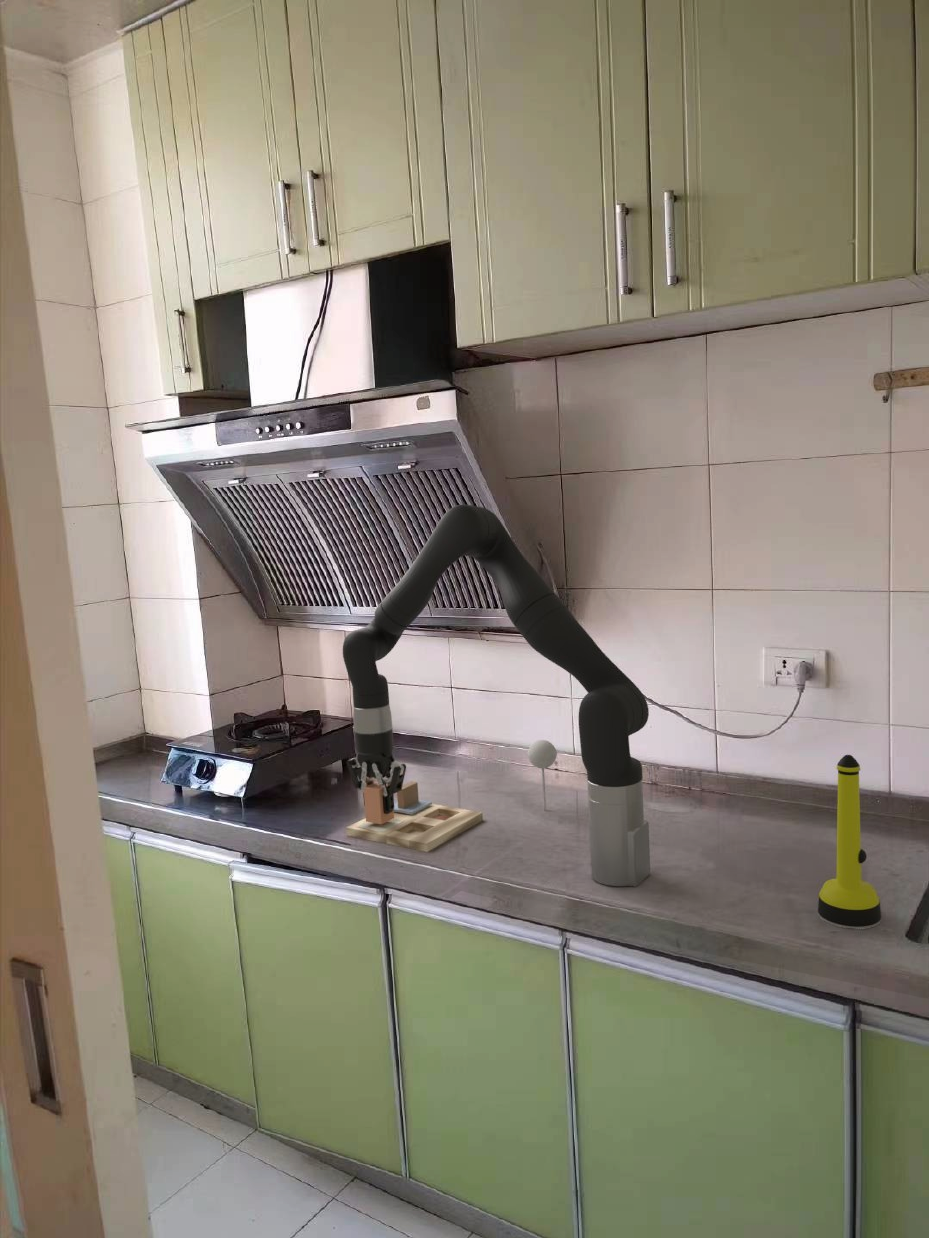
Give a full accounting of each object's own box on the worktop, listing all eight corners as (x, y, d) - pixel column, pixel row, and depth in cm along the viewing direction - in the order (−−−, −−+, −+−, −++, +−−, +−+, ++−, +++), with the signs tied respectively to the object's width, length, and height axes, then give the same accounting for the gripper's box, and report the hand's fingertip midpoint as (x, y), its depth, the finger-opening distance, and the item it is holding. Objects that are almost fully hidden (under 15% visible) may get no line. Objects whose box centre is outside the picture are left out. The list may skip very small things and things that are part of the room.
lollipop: (564, 807, 197) (561, 737, 195) (552, 816, 192) (548, 745, 190) (537, 803, 201) (534, 735, 199) (525, 812, 196) (521, 742, 194)
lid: (432, 804, 197) (430, 782, 197) (411, 814, 192) (410, 792, 191) (405, 799, 201) (404, 778, 201) (385, 809, 196) (383, 787, 195)
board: (482, 821, 192) (482, 811, 191) (427, 853, 176) (426, 843, 176) (405, 807, 203) (404, 798, 203) (347, 836, 187) (346, 826, 187)
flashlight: (810, 760, 137) (876, 766, 132) (822, 744, 145) (885, 749, 140) (812, 922, 140) (876, 933, 136) (823, 898, 148) (885, 909, 143)
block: (394, 817, 188) (391, 784, 187) (381, 824, 185) (379, 790, 184) (378, 815, 191) (376, 781, 190) (365, 821, 187) (363, 787, 186)
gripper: (413, 726, 184) (419, 810, 187) (358, 720, 192) (364, 800, 195) (389, 735, 178) (395, 822, 181) (333, 728, 186) (340, 811, 189)
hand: (379, 810), depth 188 cm, fingers closed on block, 4 cm apart
